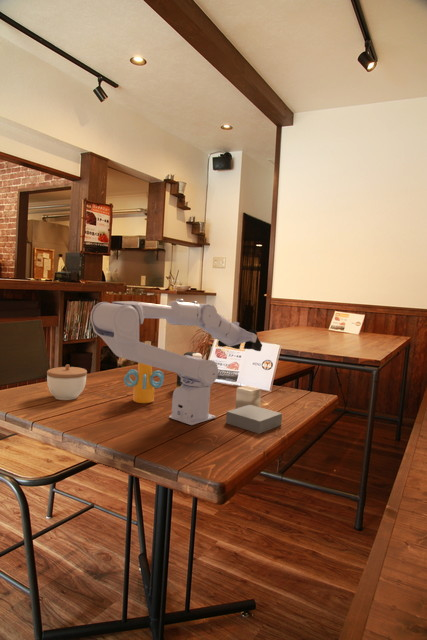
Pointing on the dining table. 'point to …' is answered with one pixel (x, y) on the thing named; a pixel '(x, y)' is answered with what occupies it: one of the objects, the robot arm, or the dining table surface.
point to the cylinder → (144, 383)
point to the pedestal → (254, 418)
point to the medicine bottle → (192, 356)
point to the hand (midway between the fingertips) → (249, 346)
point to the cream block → (248, 396)
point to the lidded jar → (66, 382)
